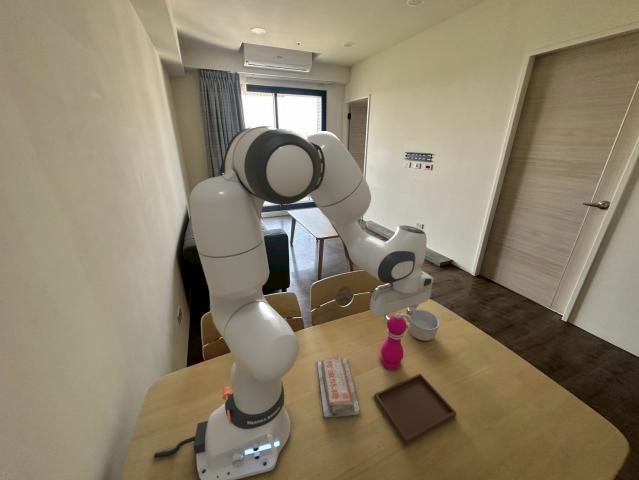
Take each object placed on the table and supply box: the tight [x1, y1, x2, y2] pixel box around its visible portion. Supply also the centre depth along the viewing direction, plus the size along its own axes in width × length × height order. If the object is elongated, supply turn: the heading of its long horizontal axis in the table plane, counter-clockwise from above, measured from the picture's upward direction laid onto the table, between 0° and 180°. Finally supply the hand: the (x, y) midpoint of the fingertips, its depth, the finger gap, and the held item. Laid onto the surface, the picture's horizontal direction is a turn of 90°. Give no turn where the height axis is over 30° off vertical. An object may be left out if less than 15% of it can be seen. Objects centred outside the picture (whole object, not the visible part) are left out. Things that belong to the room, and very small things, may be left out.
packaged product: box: [317, 355, 361, 419], centre depth 75 cm, size 18×5×10 cm
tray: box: [373, 373, 457, 446], centre depth 70 cm, size 17×13×2 cm
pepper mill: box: [380, 312, 407, 371], centre depth 81 cm, size 7×7×20 cm
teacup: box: [400, 308, 441, 342], centre depth 96 cm, size 14×11×8 cm
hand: (397, 318), depth 78 cm, fingers open, 8 cm apart
